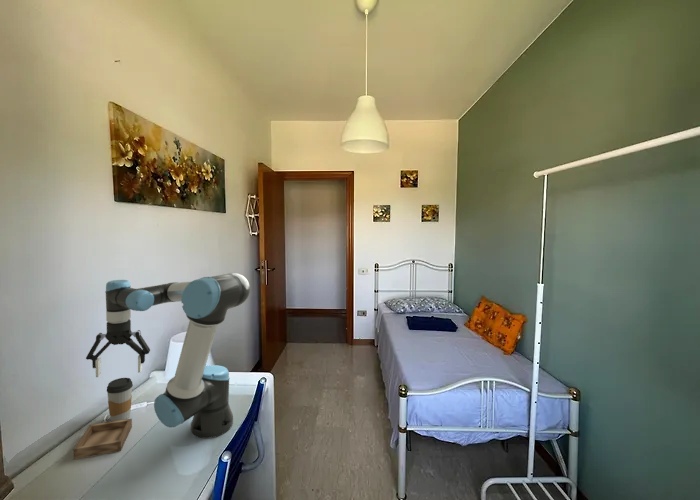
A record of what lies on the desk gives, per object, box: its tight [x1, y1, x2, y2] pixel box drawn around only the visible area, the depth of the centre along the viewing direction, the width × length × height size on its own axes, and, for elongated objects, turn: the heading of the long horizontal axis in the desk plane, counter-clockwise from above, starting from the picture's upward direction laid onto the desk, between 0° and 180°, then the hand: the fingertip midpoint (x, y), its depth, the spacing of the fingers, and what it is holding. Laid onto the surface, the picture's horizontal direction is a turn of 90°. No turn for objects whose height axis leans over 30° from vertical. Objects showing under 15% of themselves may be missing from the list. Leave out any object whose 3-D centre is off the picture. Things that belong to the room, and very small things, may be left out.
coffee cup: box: [106, 377, 134, 422], centre depth 124 cm, size 8×8×15 cm
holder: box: [72, 418, 133, 460], centre depth 112 cm, size 13×13×4 cm
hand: (119, 373), depth 123 cm, fingers open, 13 cm apart
